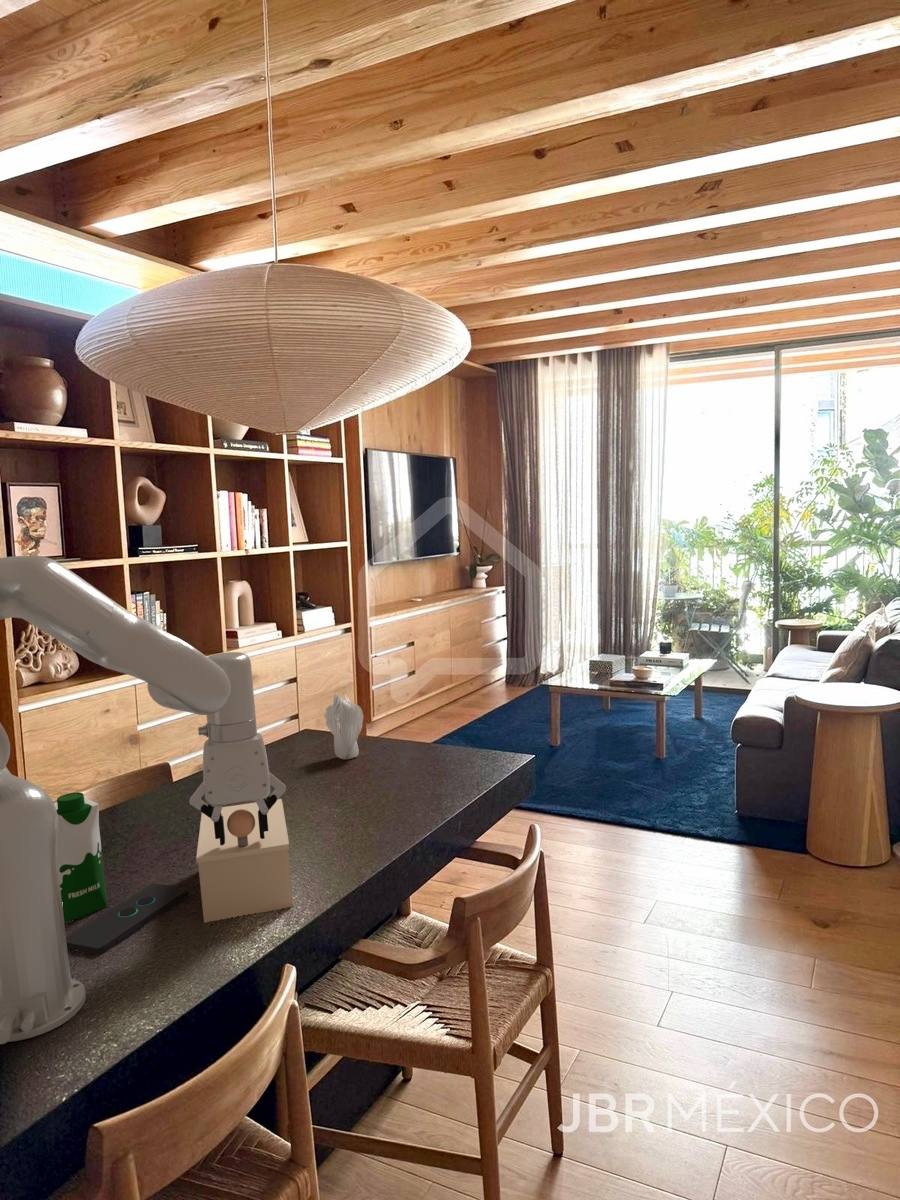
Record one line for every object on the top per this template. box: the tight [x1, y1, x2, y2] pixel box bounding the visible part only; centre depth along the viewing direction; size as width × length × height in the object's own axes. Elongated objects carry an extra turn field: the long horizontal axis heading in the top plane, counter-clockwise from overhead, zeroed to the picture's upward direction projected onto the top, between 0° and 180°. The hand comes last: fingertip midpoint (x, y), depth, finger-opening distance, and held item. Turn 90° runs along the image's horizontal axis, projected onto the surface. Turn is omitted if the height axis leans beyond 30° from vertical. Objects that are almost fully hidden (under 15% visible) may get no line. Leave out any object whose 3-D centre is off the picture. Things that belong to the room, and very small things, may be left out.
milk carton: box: [53, 791, 108, 923], centre depth 135 cm, size 9×9×20 cm
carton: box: [197, 849, 294, 923], centre depth 140 cm, size 22×14×10 cm, turn 15°
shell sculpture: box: [324, 692, 364, 760], centre depth 212 cm, size 8×8×18 cm
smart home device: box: [66, 883, 189, 956], centre depth 131 cm, size 8×2×20 cm
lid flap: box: [195, 798, 290, 864], centre depth 139 cm, size 22×14×7 cm, turn 15°
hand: (242, 837), depth 131 cm, fingers open, 5 cm apart
